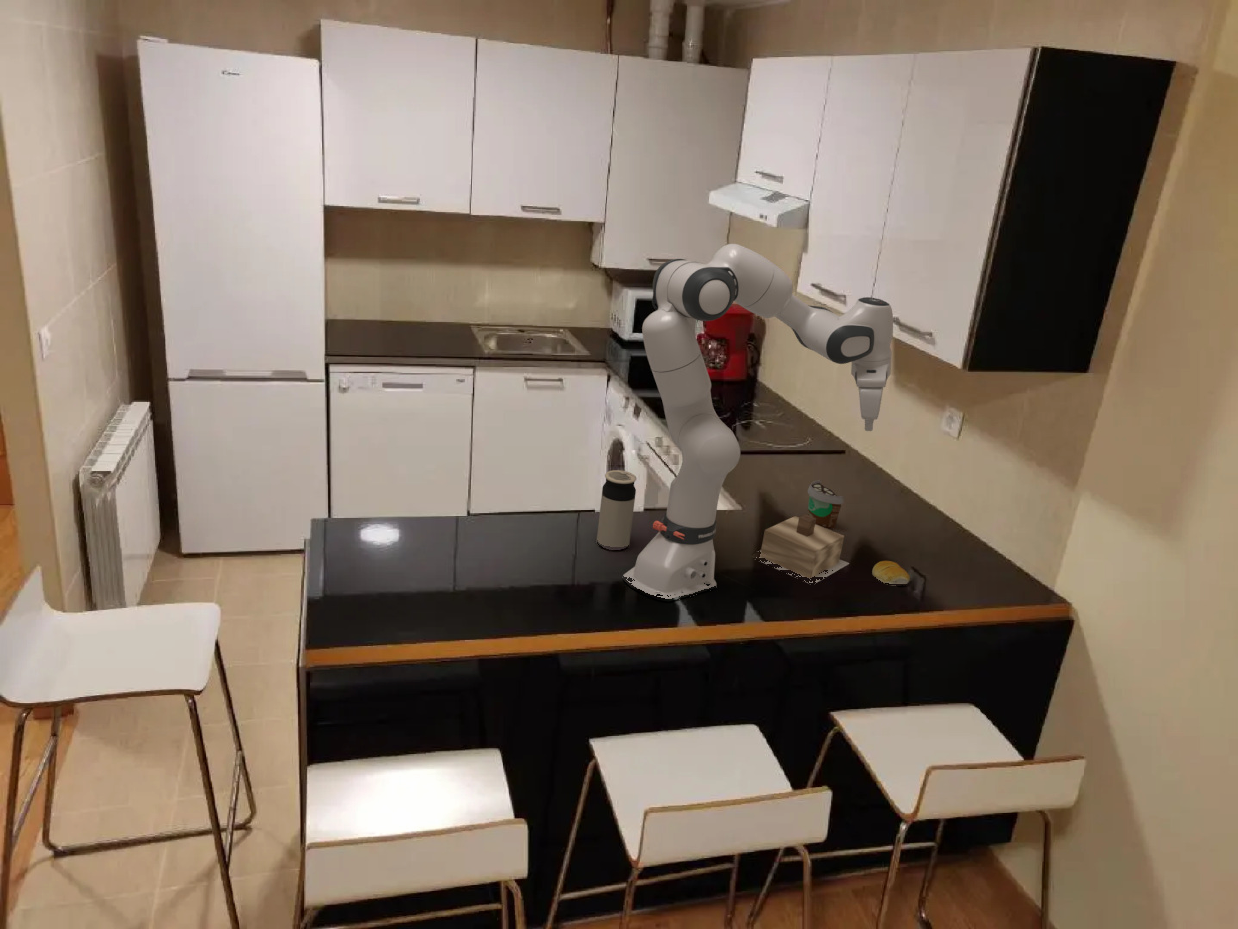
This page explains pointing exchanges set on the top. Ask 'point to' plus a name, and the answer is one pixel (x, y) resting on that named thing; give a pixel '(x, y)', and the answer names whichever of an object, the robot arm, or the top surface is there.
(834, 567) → the white paper sheet
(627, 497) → the travel mug
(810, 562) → the tan block
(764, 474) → the top surface
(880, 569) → the bread roll
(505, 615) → the top surface
